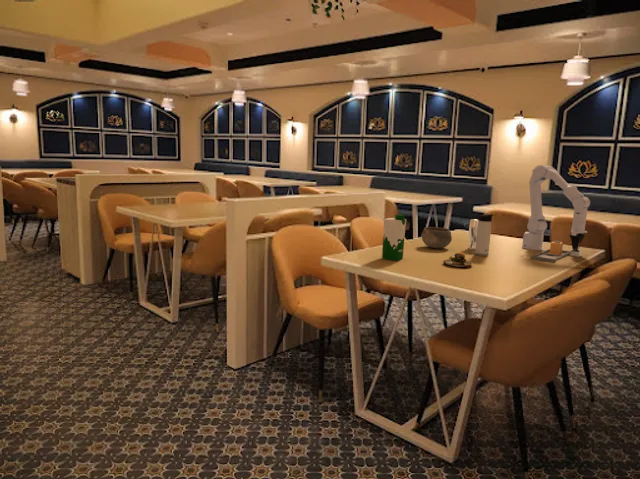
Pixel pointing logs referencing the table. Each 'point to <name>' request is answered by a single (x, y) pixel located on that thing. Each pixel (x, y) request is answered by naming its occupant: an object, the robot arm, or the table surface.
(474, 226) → the beer glass
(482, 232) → the travel mug
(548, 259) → the lid
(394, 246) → the milk carton
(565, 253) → the case
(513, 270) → the table surface
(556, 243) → the block
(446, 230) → the bowl
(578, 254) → the bracket
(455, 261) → the burger
